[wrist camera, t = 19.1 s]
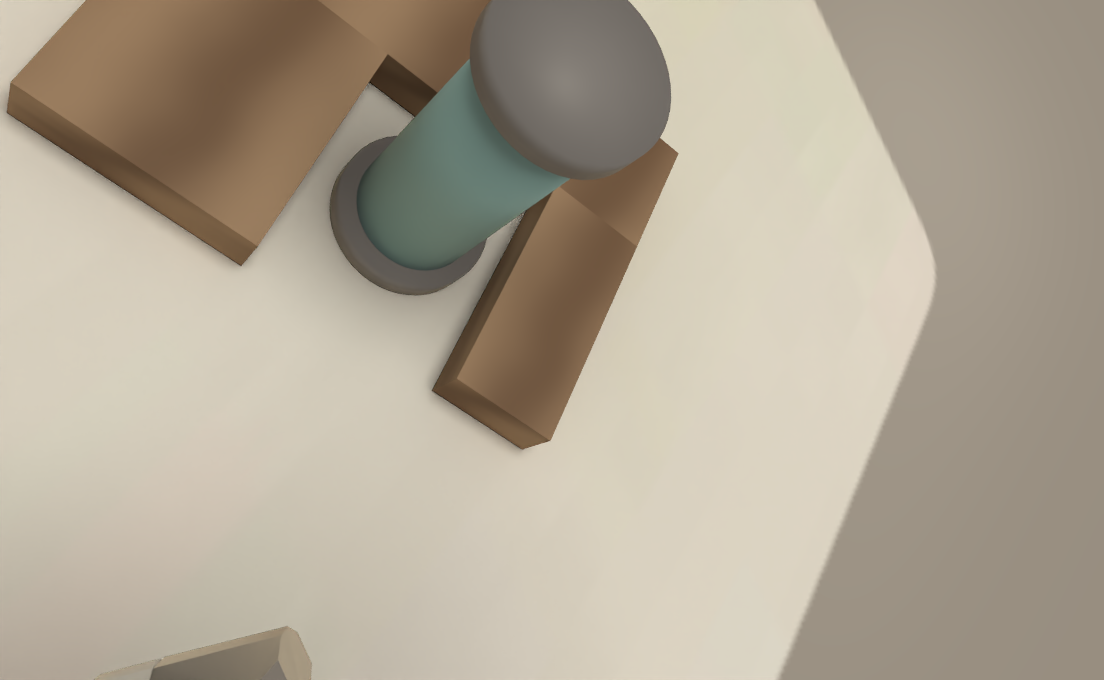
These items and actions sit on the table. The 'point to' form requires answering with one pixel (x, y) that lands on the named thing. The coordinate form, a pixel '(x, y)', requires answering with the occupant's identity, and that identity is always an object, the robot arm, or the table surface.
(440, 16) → the notched board
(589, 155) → the bobbin
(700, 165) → the table surface
